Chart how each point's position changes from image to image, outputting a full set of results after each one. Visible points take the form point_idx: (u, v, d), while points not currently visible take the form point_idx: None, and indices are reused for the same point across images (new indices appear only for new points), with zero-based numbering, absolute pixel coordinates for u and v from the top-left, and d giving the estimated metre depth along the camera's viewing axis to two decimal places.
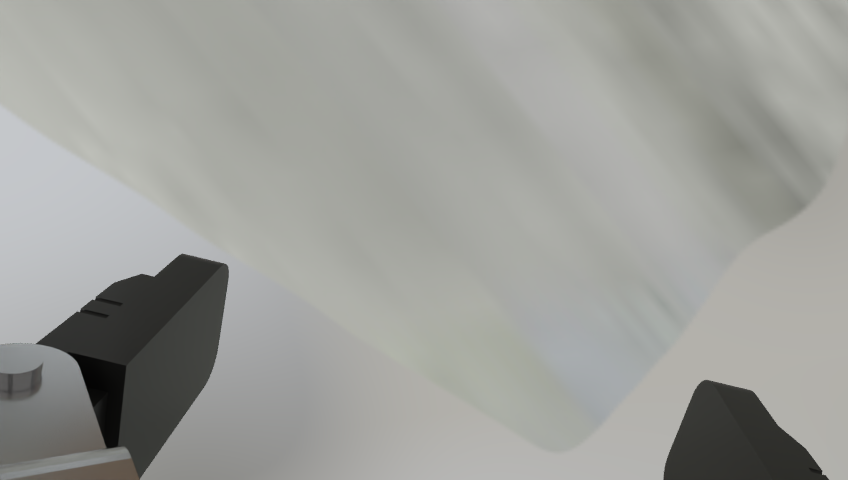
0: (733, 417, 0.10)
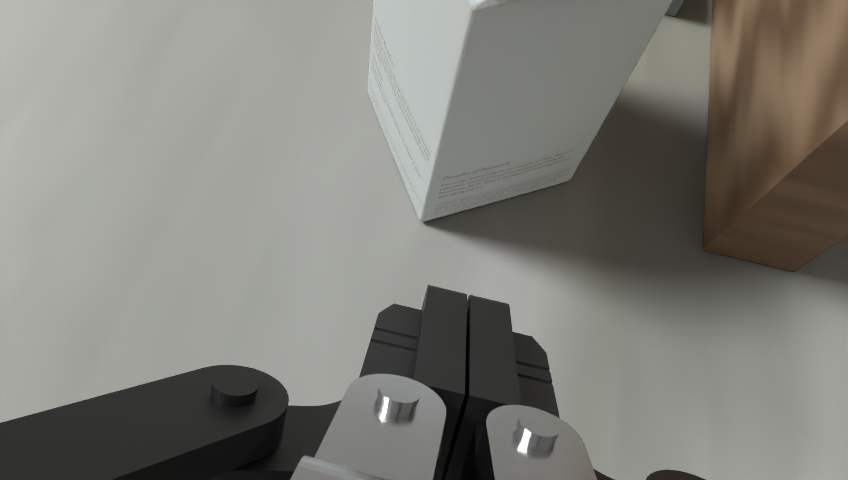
0: (470, 320, 0.11)
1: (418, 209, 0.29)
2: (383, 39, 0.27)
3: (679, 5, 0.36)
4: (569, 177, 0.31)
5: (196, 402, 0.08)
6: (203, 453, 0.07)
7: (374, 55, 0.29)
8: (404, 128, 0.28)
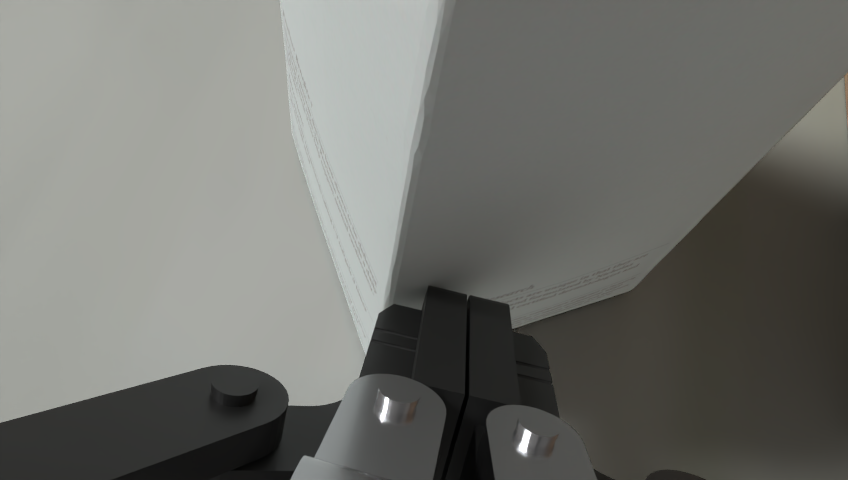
0: (470, 320, 0.11)
1: None
2: (295, 51, 0.14)
3: None
4: (632, 287, 0.18)
5: (196, 402, 0.08)
6: (203, 452, 0.07)
7: (290, 78, 0.16)
8: (336, 219, 0.15)
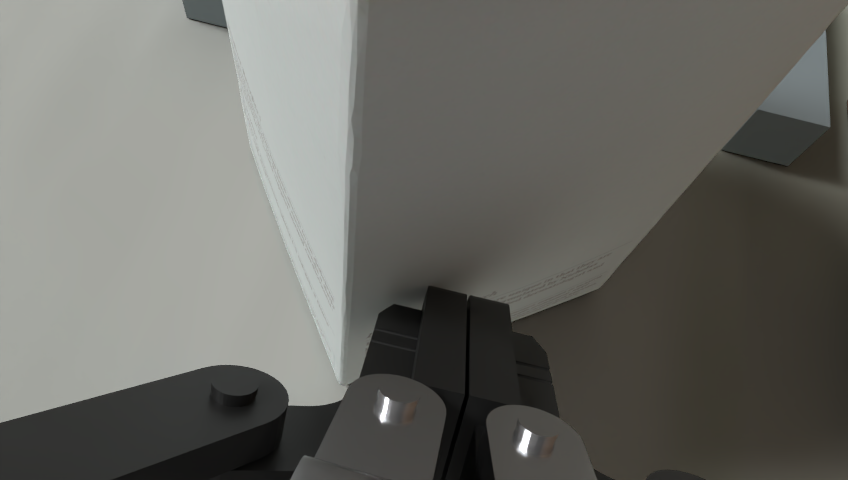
0: (470, 320, 0.11)
1: (335, 367, 0.16)
2: (241, 65, 0.14)
3: (799, 151, 0.20)
4: (599, 285, 0.18)
5: (196, 402, 0.08)
6: (204, 453, 0.07)
7: (242, 91, 0.16)
8: (294, 233, 0.14)
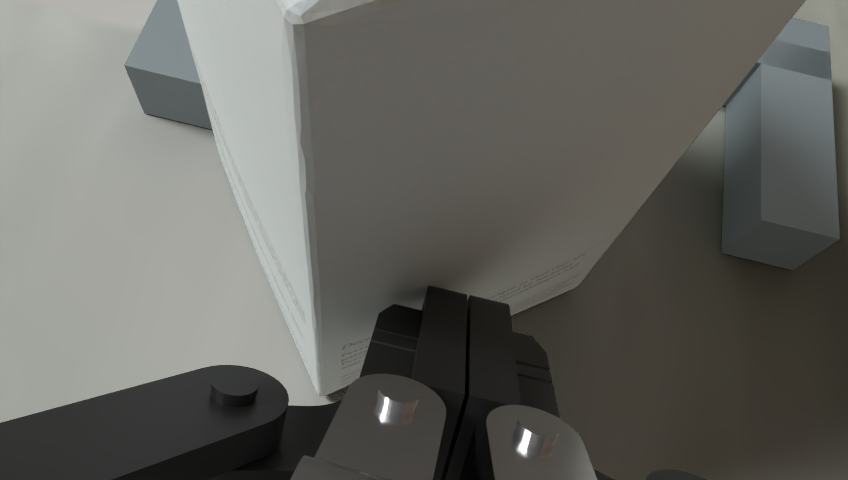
0: (470, 320, 0.11)
1: (312, 379, 0.16)
2: (203, 78, 0.14)
3: (806, 258, 0.19)
4: (577, 284, 0.18)
5: (196, 402, 0.08)
6: (203, 453, 0.07)
7: (207, 103, 0.16)
8: (263, 246, 0.14)
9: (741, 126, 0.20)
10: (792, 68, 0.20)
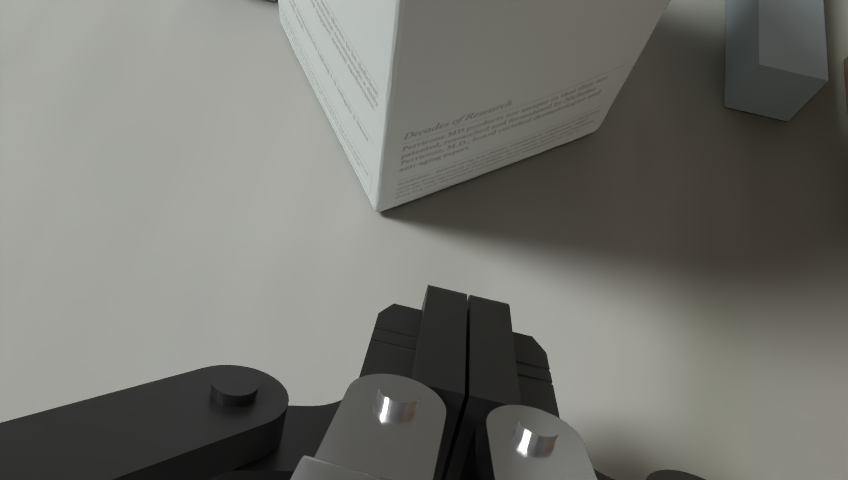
0: (470, 320, 0.11)
1: (371, 193, 0.18)
2: None
3: (799, 106, 0.21)
4: (597, 125, 0.20)
5: (196, 402, 0.08)
6: (203, 453, 0.07)
7: None
8: (334, 61, 0.17)
9: None
10: None
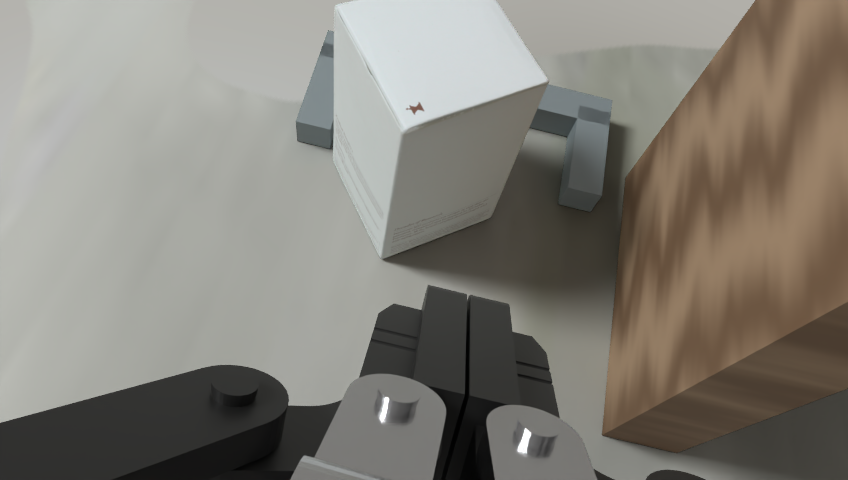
0: (470, 320, 0.11)
1: (378, 250, 0.39)
2: (343, 131, 0.37)
3: (593, 205, 0.42)
4: (489, 215, 0.41)
5: (196, 402, 0.08)
6: (203, 453, 0.07)
7: (337, 138, 0.39)
8: (363, 194, 0.38)
9: (569, 146, 0.43)
10: (591, 120, 0.43)
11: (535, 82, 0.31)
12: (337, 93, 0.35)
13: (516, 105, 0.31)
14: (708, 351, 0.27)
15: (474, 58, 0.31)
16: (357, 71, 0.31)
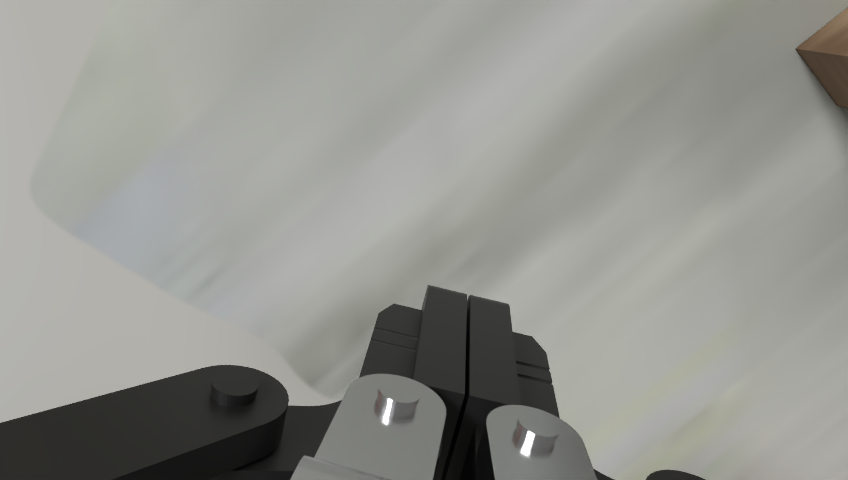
0: (469, 320, 0.11)
1: None
2: None
3: None
4: None
5: (196, 402, 0.08)
6: (203, 453, 0.07)
7: None
8: None
9: None
10: None
11: None
12: None
13: None
14: None
15: None
16: None
